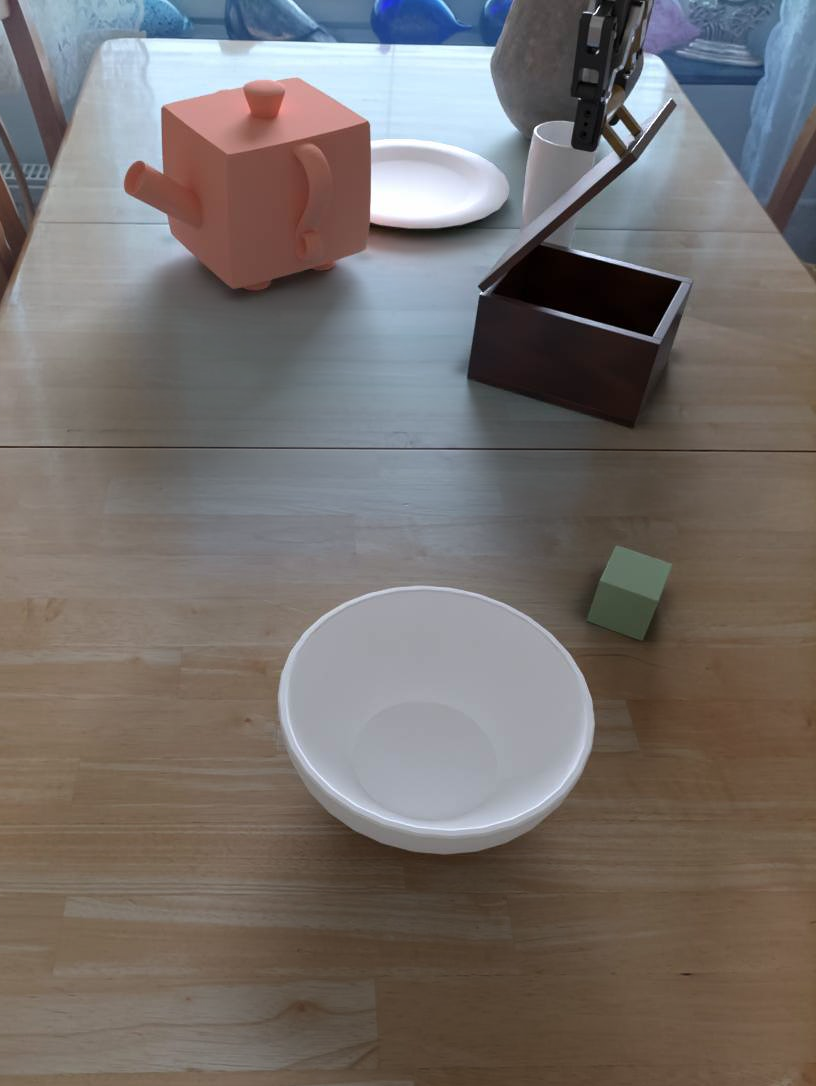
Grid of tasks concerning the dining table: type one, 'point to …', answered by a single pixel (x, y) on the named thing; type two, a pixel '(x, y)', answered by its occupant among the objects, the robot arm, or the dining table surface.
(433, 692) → the bowl
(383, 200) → the plate
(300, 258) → the teapot
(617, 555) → the block
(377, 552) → the dining table surface
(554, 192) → the drinking glass
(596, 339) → the box
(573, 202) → the tea lid
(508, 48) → the vase
